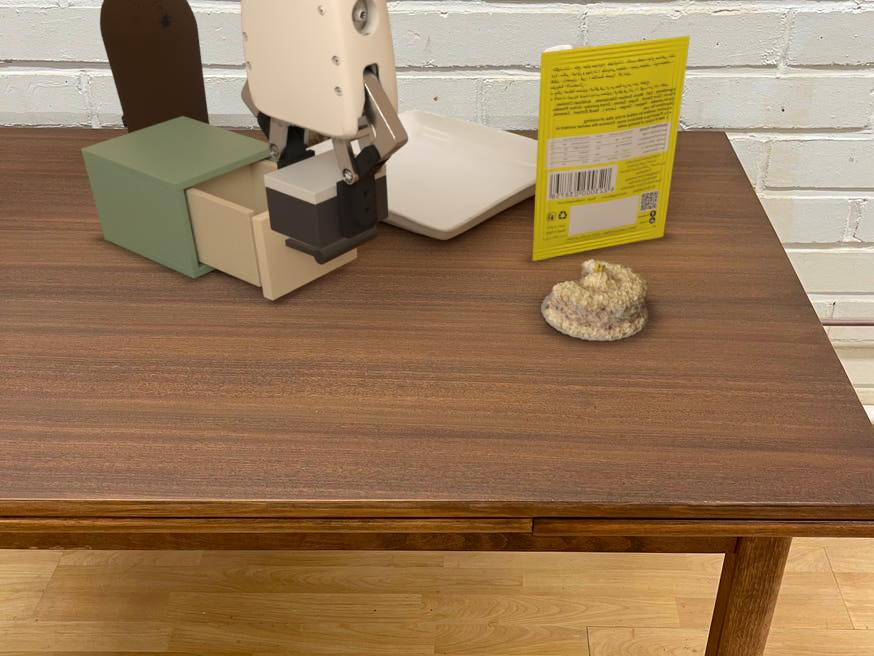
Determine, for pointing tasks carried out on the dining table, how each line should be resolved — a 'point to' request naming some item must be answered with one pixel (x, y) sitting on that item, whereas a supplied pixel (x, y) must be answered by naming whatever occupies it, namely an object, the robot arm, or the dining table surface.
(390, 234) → the dining table surface
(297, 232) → the box
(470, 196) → the square plate
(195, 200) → the drawer
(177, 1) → the rounded brown slab
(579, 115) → the food package
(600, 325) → the cake
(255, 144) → the cabinet
